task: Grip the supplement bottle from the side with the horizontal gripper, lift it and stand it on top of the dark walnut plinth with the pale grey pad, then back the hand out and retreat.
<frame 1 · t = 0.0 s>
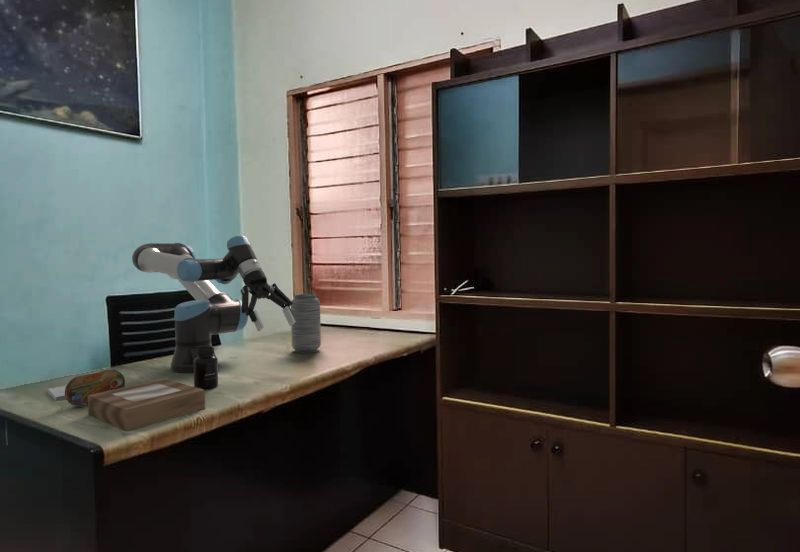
hand: (277, 326, 170), 15 cm above the table, tool tilted 35°, fingers open, 13 cm apart
plinth: (147, 411, 130), on the table
supplement bottle: (206, 387, 152), on the table
tin: (96, 403, 139), on the table
hard drive: (68, 395, 147), on the table
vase: (306, 351, 204), on the table
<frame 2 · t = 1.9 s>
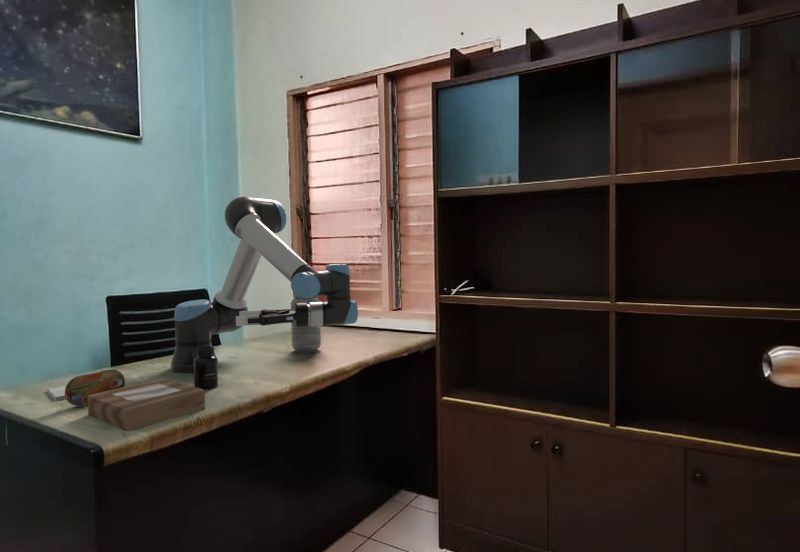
hand: (237, 318, 154), 21 cm above the table, tool horizontal, fingers open, 13 cm apart
nothing on the table moved.
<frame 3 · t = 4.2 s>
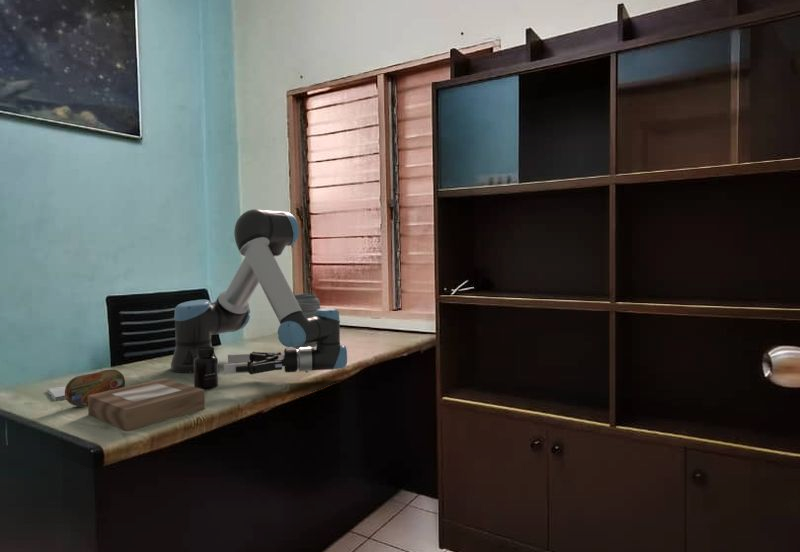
hand: (225, 364, 153), 7 cm above the table, tool horizontal, fingers open, 13 cm apart
nothing on the table moved.
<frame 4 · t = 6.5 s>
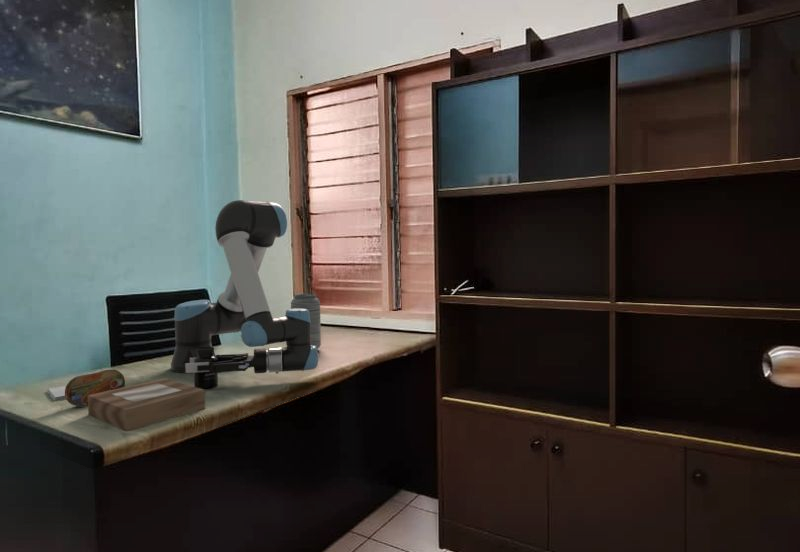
hand: (188, 365, 151), 7 cm above the table, tool horizontal, fingers closed on supplement bottle, 7 cm apart
supplement bottle: (206, 387, 152), on the table, touching gripper
everything else where it was.
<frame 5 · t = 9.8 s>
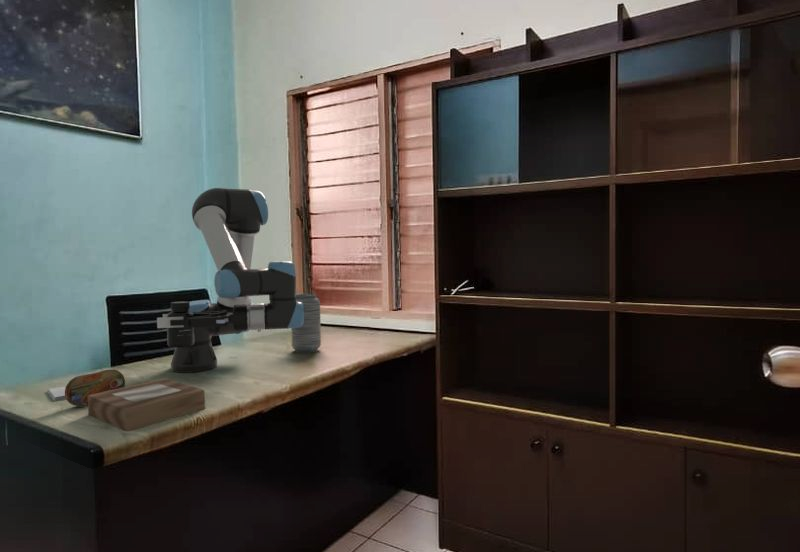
hand: (160, 321, 137), 22 cm above the table, tool horizontal, fingers closed on supplement bottle, 7 cm apart
supplement bottle: (181, 346, 139), point 15 cm above the table, touching gripper
everything else where it was.
when the fingers open (13 cm above the table, at t = 13.1 s): supplement bottle drops 1 cm, resting on plinth.
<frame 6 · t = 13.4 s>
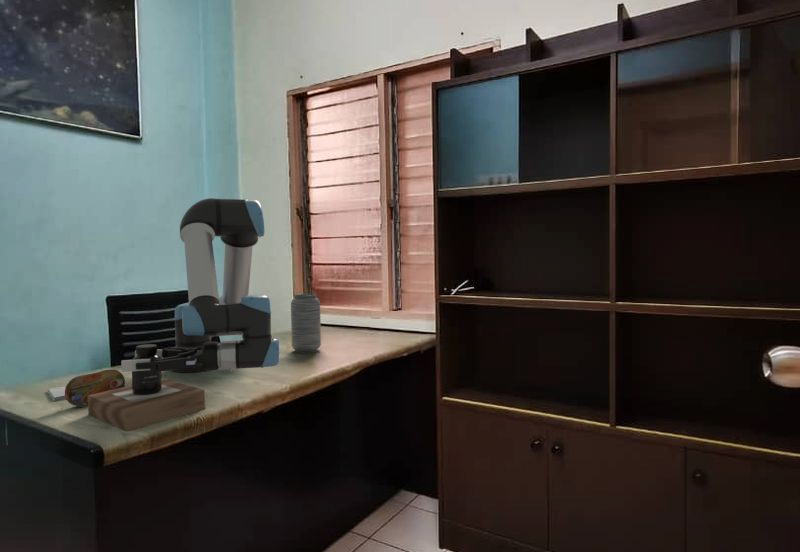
hand: (128, 360, 128), 13 cm above the table, tool horizontal, fingers open, 11 cm apart
supplement bottle: (147, 392, 130), point 5 cm above the table, touching plinth
everything else where it was.
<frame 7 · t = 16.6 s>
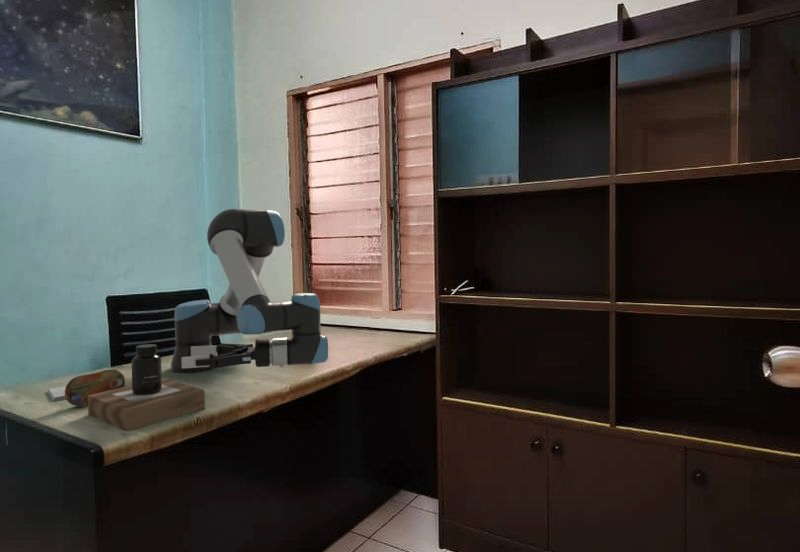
hand: (186, 356, 132), 14 cm above the table, tool horizontal, fingers open, 13 cm apart
nothing on the table moved.
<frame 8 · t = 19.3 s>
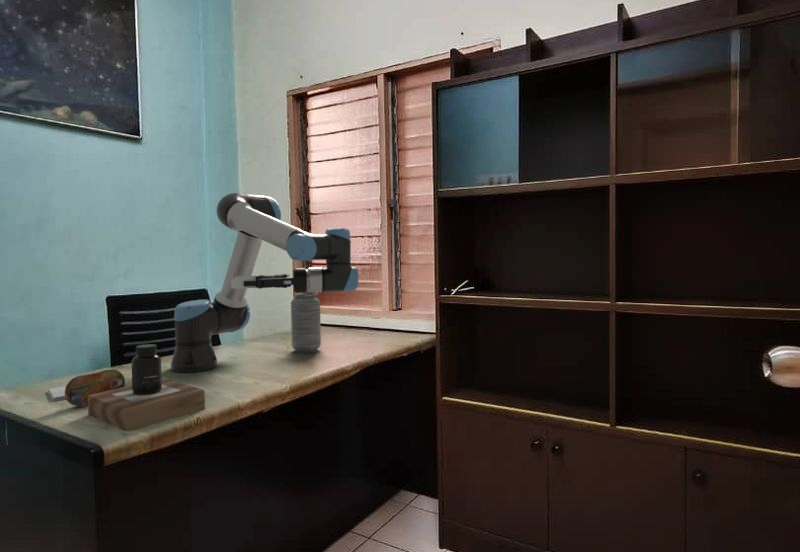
hand: (233, 282, 148), 32 cm above the table, tool horizontal, fingers open, 13 cm apart
nothing on the table moved.
at the end: supplement bottle inside the target area on the plinth (0.2 cm from its centre), point 4.9 cm above the plinth's base; supplement bottle tilted 0°; the gripper is holding nothing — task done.
